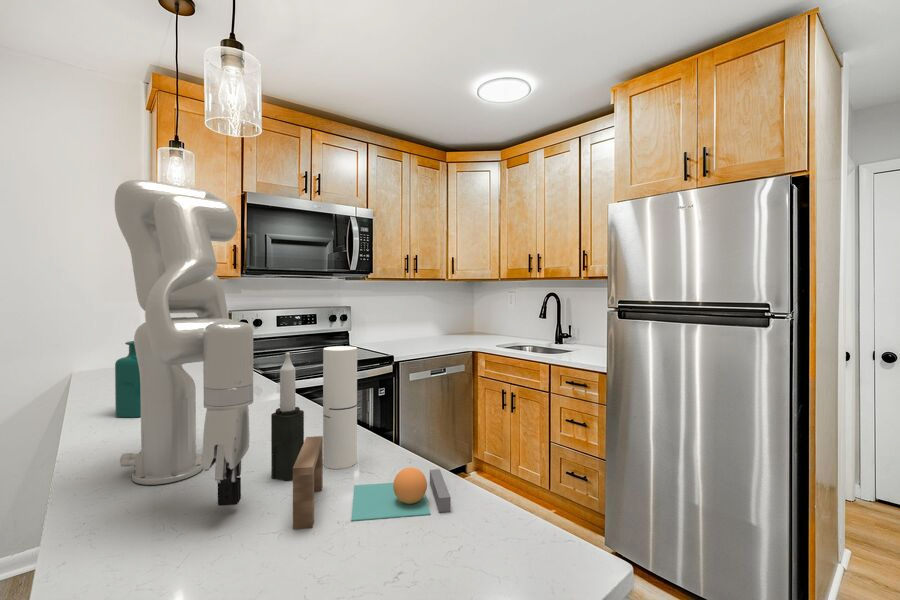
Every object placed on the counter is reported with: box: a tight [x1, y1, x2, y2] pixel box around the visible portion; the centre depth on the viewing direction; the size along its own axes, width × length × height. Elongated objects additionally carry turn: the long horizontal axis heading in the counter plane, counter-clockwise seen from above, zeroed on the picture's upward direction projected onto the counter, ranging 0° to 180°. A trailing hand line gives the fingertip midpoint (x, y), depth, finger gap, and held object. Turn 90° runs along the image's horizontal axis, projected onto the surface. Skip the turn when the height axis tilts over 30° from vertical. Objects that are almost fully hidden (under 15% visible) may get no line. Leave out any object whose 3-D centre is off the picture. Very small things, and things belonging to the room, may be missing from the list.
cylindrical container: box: [322, 345, 358, 470], centre depth 97 cm, size 7×7×25 cm
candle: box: [270, 351, 305, 482], centre depth 90 cm, size 5×5×25 cm
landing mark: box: [351, 482, 431, 522], centre depth 80 cm, size 13×13×1 cm
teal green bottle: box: [114, 340, 141, 419], centre depth 133 cm, size 10×8×22 cm
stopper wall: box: [429, 468, 452, 513], centre depth 82 cm, size 2×12×2 cm, turn 10°
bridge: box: [292, 435, 324, 530], centre depth 78 cm, size 3×15×10 cm, turn 10°
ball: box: [392, 467, 428, 504], centre depth 79 cm, size 6×6×6 cm
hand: (229, 502), depth 76 cm, fingers closed
